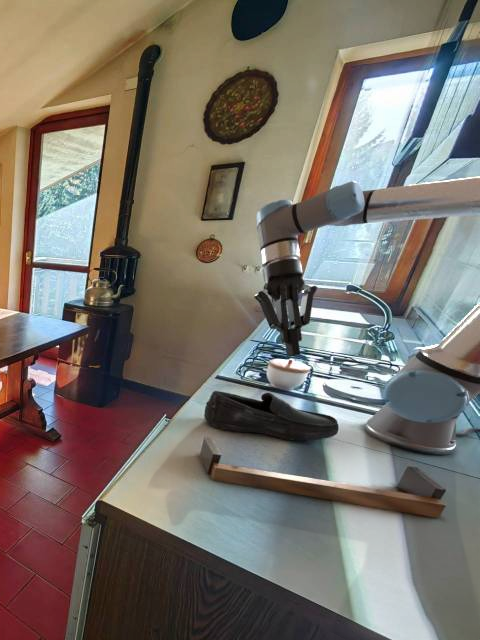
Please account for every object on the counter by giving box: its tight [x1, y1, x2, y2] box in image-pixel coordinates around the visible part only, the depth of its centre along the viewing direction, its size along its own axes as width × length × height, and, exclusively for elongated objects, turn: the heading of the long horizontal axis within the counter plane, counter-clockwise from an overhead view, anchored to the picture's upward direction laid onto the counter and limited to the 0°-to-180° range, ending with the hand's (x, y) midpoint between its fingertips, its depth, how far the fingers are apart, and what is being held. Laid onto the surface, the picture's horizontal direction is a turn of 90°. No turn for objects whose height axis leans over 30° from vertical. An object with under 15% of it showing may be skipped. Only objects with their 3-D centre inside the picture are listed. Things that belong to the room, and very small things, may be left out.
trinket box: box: [266, 358, 311, 391], centre depth 127 cm, size 11×11×9 cm
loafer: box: [203, 390, 340, 442], centre depth 98 cm, size 10×29×10 cm, turn 78°
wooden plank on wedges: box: [199, 436, 447, 519], centre depth 79 cm, size 38×10×5 cm, turn 73°
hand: (293, 355), depth 95 cm, fingers closed
